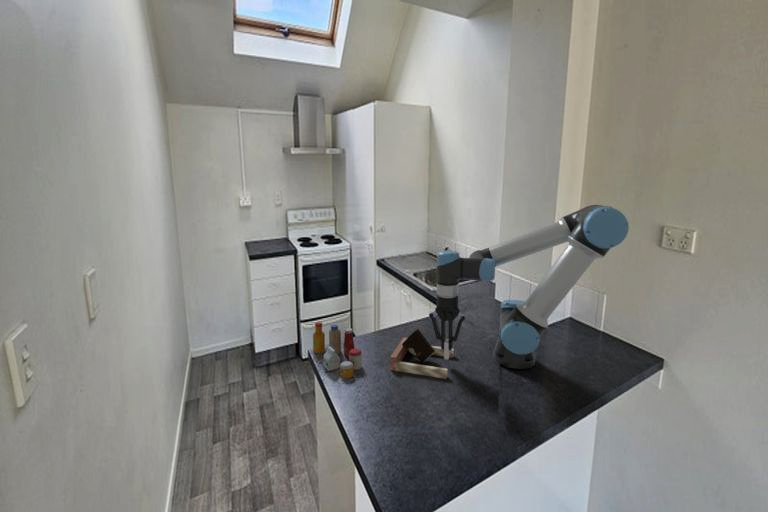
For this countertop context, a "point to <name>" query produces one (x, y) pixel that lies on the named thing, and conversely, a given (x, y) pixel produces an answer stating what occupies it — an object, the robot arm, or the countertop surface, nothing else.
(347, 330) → the toy food set
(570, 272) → the robot arm
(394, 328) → the countertop surface
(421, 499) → the countertop surface
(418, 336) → the dark brown cup
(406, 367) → the u-shaped wooden frame
